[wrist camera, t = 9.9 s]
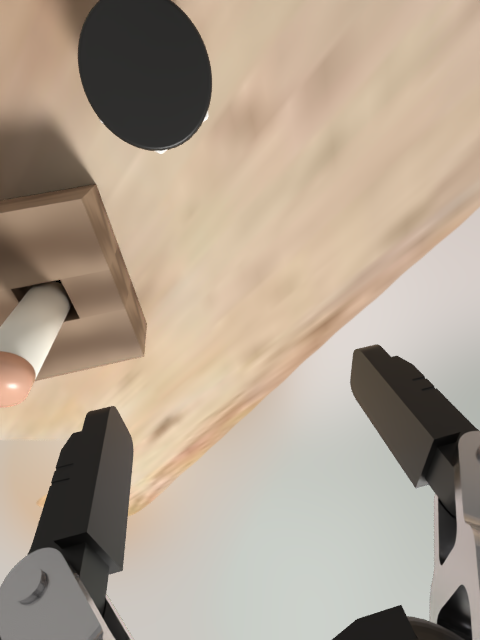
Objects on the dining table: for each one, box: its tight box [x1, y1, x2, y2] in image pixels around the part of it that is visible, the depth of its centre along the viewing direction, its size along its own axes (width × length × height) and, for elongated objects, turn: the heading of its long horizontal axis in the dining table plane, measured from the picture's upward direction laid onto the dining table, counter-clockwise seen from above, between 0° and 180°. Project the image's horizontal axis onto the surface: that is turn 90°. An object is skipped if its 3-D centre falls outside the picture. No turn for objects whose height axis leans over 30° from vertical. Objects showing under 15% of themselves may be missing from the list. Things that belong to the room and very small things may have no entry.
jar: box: [78, 0, 212, 154], centre depth 25 cm, size 9×8×12 cm
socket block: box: [0, 184, 147, 381], centre depth 34 cm, size 18×14×7 cm
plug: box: [0, 281, 72, 408], centre depth 27 cm, size 4×4×13 cm
